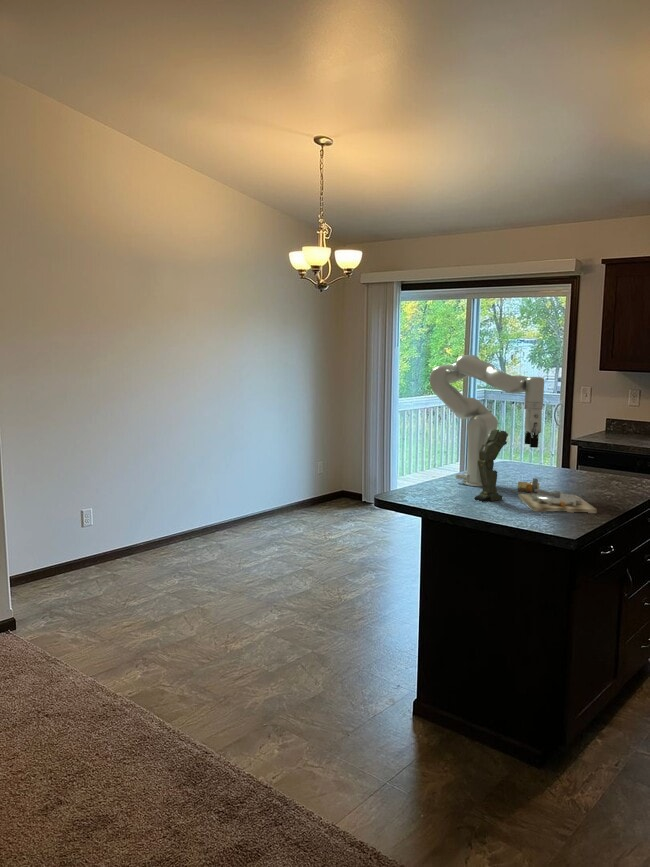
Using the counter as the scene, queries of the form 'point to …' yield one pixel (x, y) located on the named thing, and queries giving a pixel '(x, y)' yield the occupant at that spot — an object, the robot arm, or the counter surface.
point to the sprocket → (553, 496)
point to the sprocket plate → (545, 507)
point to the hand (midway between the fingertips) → (531, 445)
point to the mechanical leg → (490, 465)
